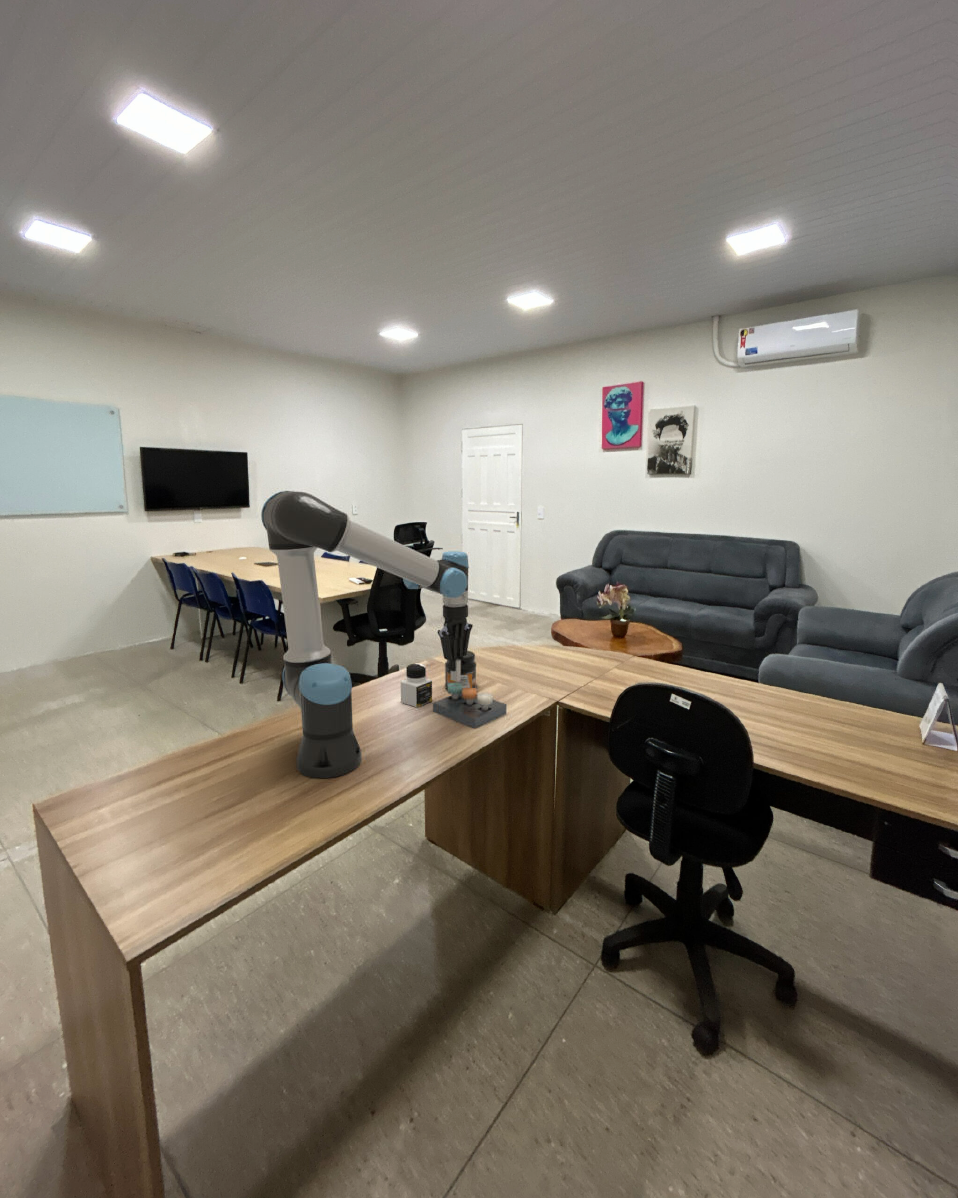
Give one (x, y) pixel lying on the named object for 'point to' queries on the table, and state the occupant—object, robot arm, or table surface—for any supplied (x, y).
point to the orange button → (469, 695)
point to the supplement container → (463, 672)
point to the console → (468, 711)
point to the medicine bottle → (416, 686)
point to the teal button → (455, 690)
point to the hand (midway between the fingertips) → (455, 680)
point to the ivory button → (484, 700)
